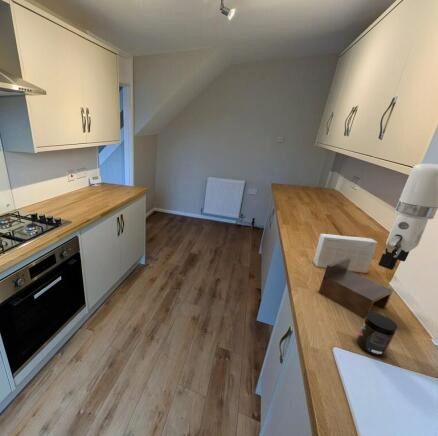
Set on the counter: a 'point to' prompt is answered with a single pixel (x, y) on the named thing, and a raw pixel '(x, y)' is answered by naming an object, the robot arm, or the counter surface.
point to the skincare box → (345, 251)
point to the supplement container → (376, 334)
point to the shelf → (352, 289)
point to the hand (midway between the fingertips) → (391, 263)
